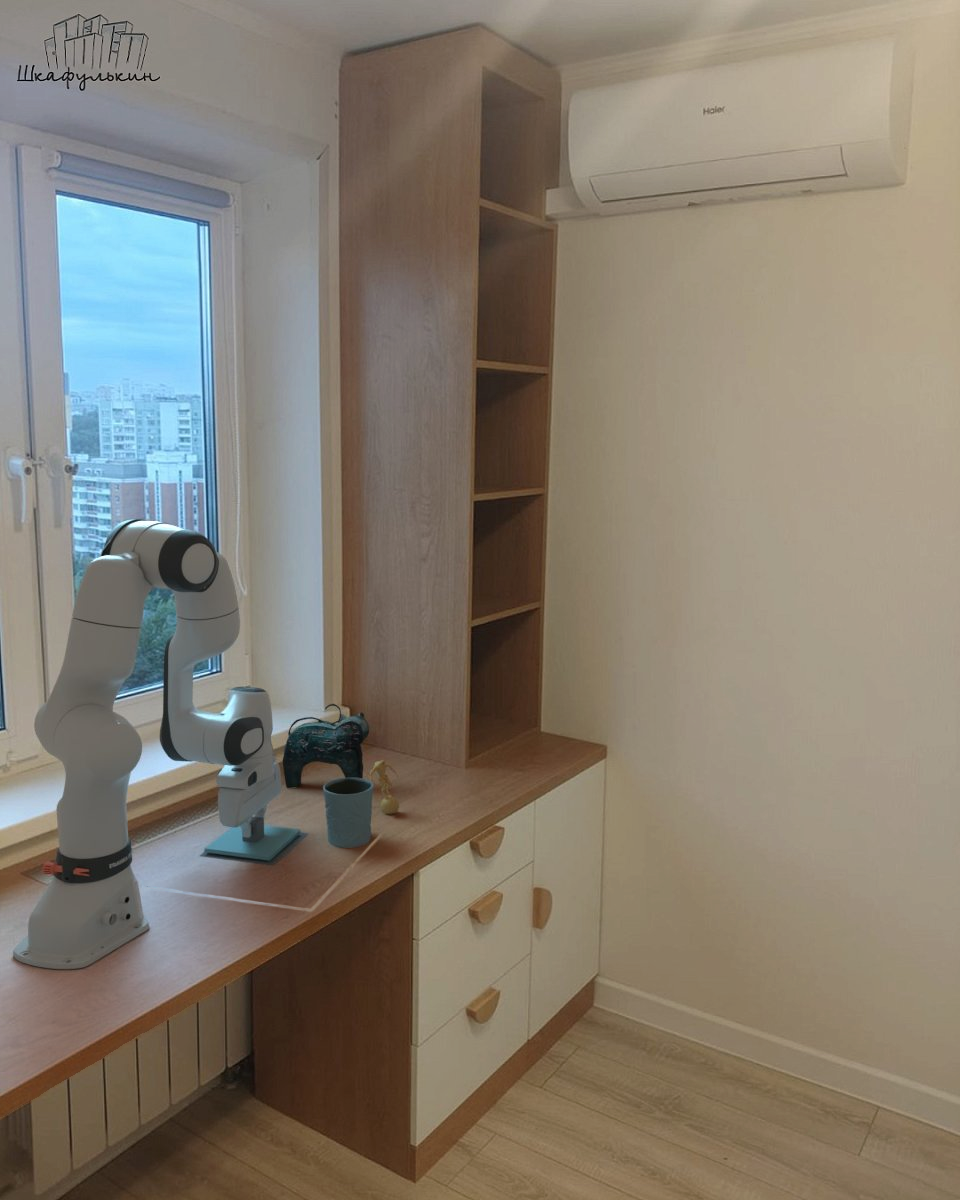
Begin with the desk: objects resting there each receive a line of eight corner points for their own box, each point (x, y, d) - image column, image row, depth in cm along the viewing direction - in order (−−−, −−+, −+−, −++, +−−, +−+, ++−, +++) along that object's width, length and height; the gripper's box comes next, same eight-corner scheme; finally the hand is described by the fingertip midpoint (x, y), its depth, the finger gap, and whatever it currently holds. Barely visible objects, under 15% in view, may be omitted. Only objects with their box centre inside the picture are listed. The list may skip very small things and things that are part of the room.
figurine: (383, 822, 228) (382, 768, 226) (363, 815, 232) (362, 762, 230) (409, 810, 235) (408, 758, 232) (388, 804, 238) (388, 752, 236)
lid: (269, 860, 207) (269, 837, 206) (204, 852, 210) (203, 829, 210) (300, 833, 220) (299, 810, 219) (238, 825, 224) (237, 803, 223)
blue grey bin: (329, 854, 212) (328, 797, 210) (320, 834, 222) (318, 779, 219) (379, 847, 215) (378, 791, 213) (368, 828, 225) (367, 774, 223)
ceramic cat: (371, 784, 251) (369, 701, 247) (365, 794, 244) (363, 709, 241) (288, 780, 253) (285, 699, 249) (280, 790, 246) (277, 706, 243)
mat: (273, 868, 206) (273, 865, 206) (199, 858, 210) (199, 855, 210) (308, 836, 221) (308, 833, 221) (238, 827, 225) (238, 824, 225)
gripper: (260, 748, 223) (262, 811, 225) (211, 780, 204) (213, 849, 206) (288, 751, 221) (290, 814, 224) (241, 784, 202) (243, 853, 204)
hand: (253, 831), depth 215 cm, fingers closed on lid, 3 cm apart
